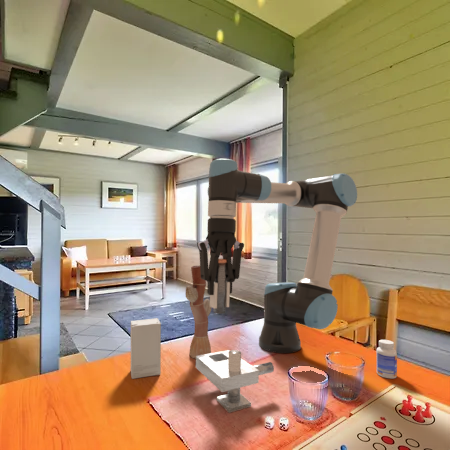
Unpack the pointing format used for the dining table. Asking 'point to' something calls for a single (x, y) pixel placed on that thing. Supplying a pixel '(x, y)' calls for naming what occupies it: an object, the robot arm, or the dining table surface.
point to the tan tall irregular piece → (199, 314)
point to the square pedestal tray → (231, 376)
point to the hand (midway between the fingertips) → (219, 306)
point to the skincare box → (145, 348)
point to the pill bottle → (386, 359)
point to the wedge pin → (221, 286)
